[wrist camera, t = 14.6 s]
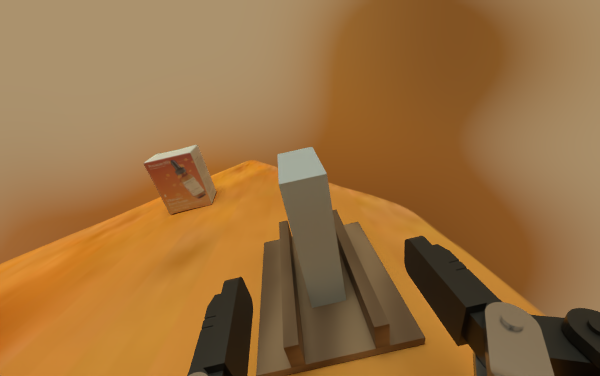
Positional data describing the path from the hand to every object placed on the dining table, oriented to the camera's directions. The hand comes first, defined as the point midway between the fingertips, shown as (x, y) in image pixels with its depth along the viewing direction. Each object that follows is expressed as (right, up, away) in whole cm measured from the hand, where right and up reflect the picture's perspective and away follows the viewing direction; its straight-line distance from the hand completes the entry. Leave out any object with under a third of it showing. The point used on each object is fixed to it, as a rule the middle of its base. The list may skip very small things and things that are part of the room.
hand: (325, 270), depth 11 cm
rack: (+1, -5, +11) cm, 12 cm away
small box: (-22, +1, +34) cm, 40 cm away
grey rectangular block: (+1, -5, +11) cm, 12 cm away
